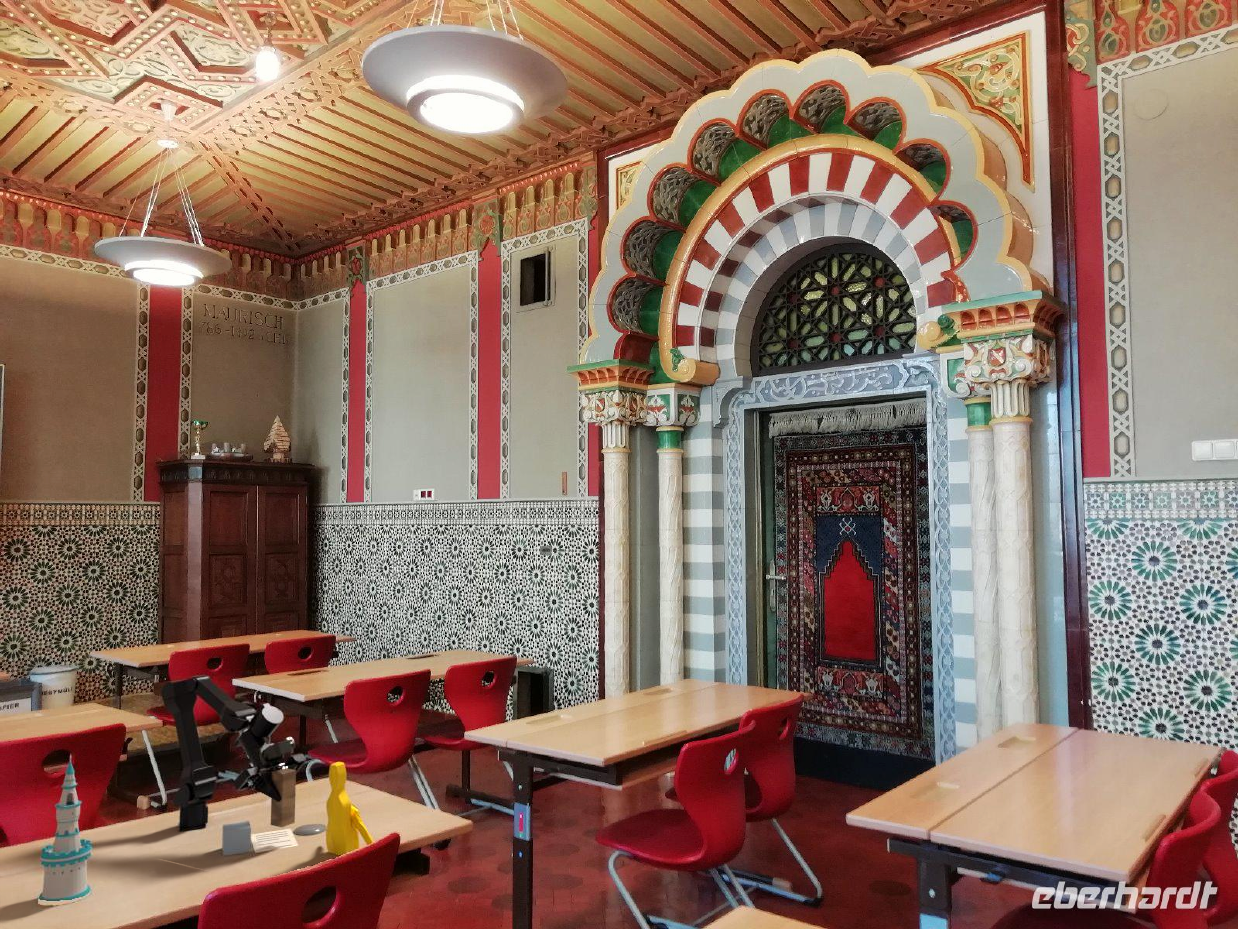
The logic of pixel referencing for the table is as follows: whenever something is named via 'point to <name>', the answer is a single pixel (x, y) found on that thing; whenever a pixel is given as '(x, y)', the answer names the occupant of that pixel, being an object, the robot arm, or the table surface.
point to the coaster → (310, 829)
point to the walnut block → (284, 798)
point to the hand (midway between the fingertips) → (287, 798)
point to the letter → (273, 840)
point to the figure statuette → (342, 816)
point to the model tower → (66, 849)
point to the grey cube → (236, 838)
